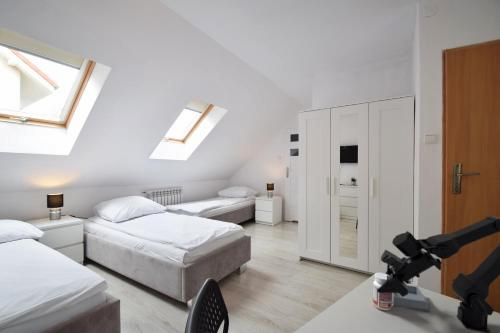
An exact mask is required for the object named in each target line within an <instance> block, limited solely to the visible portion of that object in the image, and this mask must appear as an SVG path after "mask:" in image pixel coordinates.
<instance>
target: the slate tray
mask: <svg viewBox="0 0 500 333" xmlns="http://www.w3.org/2000/svg"><path fill="white" fill-rule="evenodd" d="M406 285H407V286H408V295H406V296H404V297H402V296H401V295H400V294H399V293H392V307H396V308H403V309H408V310H409V309H410V310H414V311H420V312H426V313H429V312H430V302H429V301H428V299H427V297H426V296H425V295H424V293H423V292H422V290H421V289H420V287H418V286H417V285H412V284H411V285H410V284H406Z"/></svg>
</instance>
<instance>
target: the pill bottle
mask: <svg viewBox="0 0 500 333" xmlns="http://www.w3.org/2000/svg"><path fill="white" fill-rule="evenodd" d="M388 276H389V275H388ZM386 281H387V274H385V272H376V273H375V274H374V281H373V282H372V285H373V286H372V289H373V290H372V291H373V292H372V305H373V306H374V307H375V308H377V309H379V310H381V311H389V310H392V307H393V304H392V293H379V292H378V291H377V289H378V288H379V287H380V286H381V285H383V284H384V283H385V282H386Z"/></svg>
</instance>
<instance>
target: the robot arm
mask: <svg viewBox="0 0 500 333" xmlns="http://www.w3.org/2000/svg"><path fill="white" fill-rule="evenodd" d="M497 233H500V217H497V216H494V215H490V216H489V215H488V216H486V217H485V218H484V219H481V220H479V221H477V222H475V223H472V224H469V225H468V226H467V225H466V226H465V227H463V228H460V229H458V230H455V231H453V232H450V233H441V234H435V235H431V236H429V237H427V238H422V239H421V238H420V239H417V238H416V237H415V236H414V235H413V234H412V233H411V232H410V231H409V230H408V231H407V230H406V231H405V232H402V233H399V234H397V235H395V237H394V238H393V239H392V245H393V246H394V247H395V248H397V249H398V251H399V252H400V253H402V254H403V255H404V256H403V257H401V258H400V257H399V256H398V255H396V254H394V253H393V252H391V251H389V250H387V249H384V251H383V253H382V254H381V256H380V261H381V262H382V263H384V264H386V271H385V272H384V274H387V281H386V282H385V283H384V284H383V285H381V286H380V287H379V288H378V289H377V291H378V292H379V293H399V294H400V295H401V296H402V297H404V296H406V295H408V286H407V285H409V283H410V282H411V281H410V280H413V278H415V277H416V278H420V277H421V274H422V273H424V272H425V271H428V270H429V269H431V268H433V267H435V268H436V269H437V270H439V271H441V270H442V261H441V259H442V260H447V259H450V258H451V257H453V256H454V255H456V254H458V253H459V251H460V250H461V248H463V247H464V246H467V245H469V244H472V243H474V242H477V241H480V240H482V239H485V238H487V237H489V236H492V235H495V234H497ZM433 255H434V256H436V257H437V258H436V257H434V256H433ZM388 275H389V276H388ZM499 276H500V243H499V245H497V247H495V249H493V251H492V252H491V253H490V254H489V255H488V256H487V257H486V258H485V259H484V260H483V261H482V262H481V263H480V264H479V266H477V268H476V269H474V270H473V272H471V273H468V274H465V273H463V272H460V273H458V275H457V277H455V278H454V279H451V280H452V283H451V289H452V292H453V293H454V295H456V297H457V299H458V300H459V306H457V314H455V317H456V318H457V320H458V321H460V323H461V324H462V325H463V326H464V328H466V329H468V330H472V331H473V330H474V331H479V332H485V333H491V330H490V329H489V327H488V318H489V316H492V314H493V313H494V312H495V309H494V308H493V307H492V306H491V305H490V304H489V303H488V302H487V301H486V300H487V298H488V297H489V295H490V294H489V292H490V286H491V285H492V284H493V283H494V282H495V281H496V280H497V279H498V278H499Z"/></svg>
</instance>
